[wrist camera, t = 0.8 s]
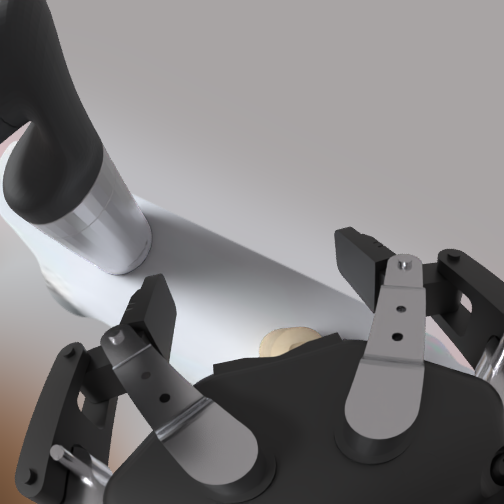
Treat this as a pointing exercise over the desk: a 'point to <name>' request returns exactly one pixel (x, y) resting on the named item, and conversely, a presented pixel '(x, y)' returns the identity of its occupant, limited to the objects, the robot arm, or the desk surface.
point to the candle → (285, 340)
